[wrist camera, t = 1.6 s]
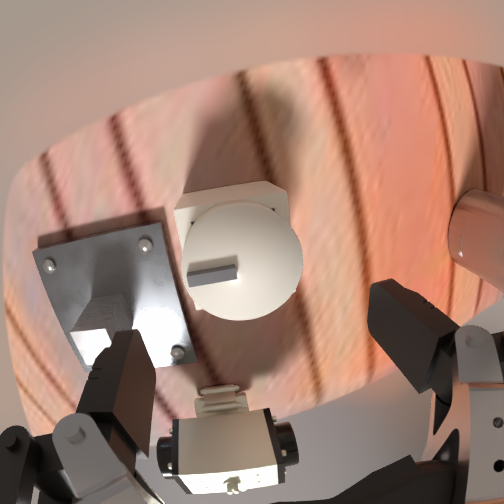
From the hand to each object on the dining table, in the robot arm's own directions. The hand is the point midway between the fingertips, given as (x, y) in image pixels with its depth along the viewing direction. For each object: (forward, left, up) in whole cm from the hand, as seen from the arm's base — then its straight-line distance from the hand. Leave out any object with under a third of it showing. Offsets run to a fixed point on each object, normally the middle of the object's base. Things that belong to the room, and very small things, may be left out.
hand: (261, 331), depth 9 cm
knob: (0, 0, -14) cm, 14 cm away
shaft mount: (+11, +5, -14) cm, 18 cm away
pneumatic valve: (+4, +18, -14) cm, 23 cm away
